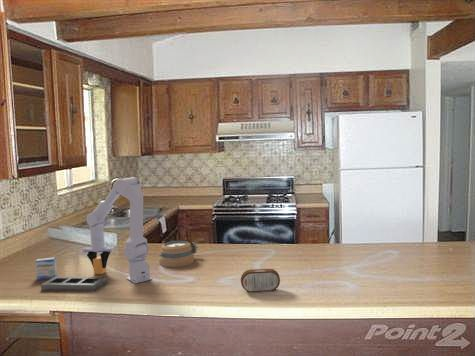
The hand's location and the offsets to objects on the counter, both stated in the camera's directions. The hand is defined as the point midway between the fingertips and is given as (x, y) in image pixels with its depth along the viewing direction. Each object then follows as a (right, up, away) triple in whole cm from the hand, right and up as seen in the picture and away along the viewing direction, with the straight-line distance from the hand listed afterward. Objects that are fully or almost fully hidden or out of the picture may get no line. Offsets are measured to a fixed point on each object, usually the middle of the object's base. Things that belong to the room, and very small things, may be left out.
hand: (99, 267), depth 188 cm
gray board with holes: (-5, -4, -16) cm, 17 cm away
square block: (0, -2, 0) cm, 2 cm away
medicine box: (-23, -4, -2) cm, 24 cm away
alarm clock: (+34, 0, +16) cm, 38 cm away
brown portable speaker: (+72, -3, -31) cm, 78 cm away
